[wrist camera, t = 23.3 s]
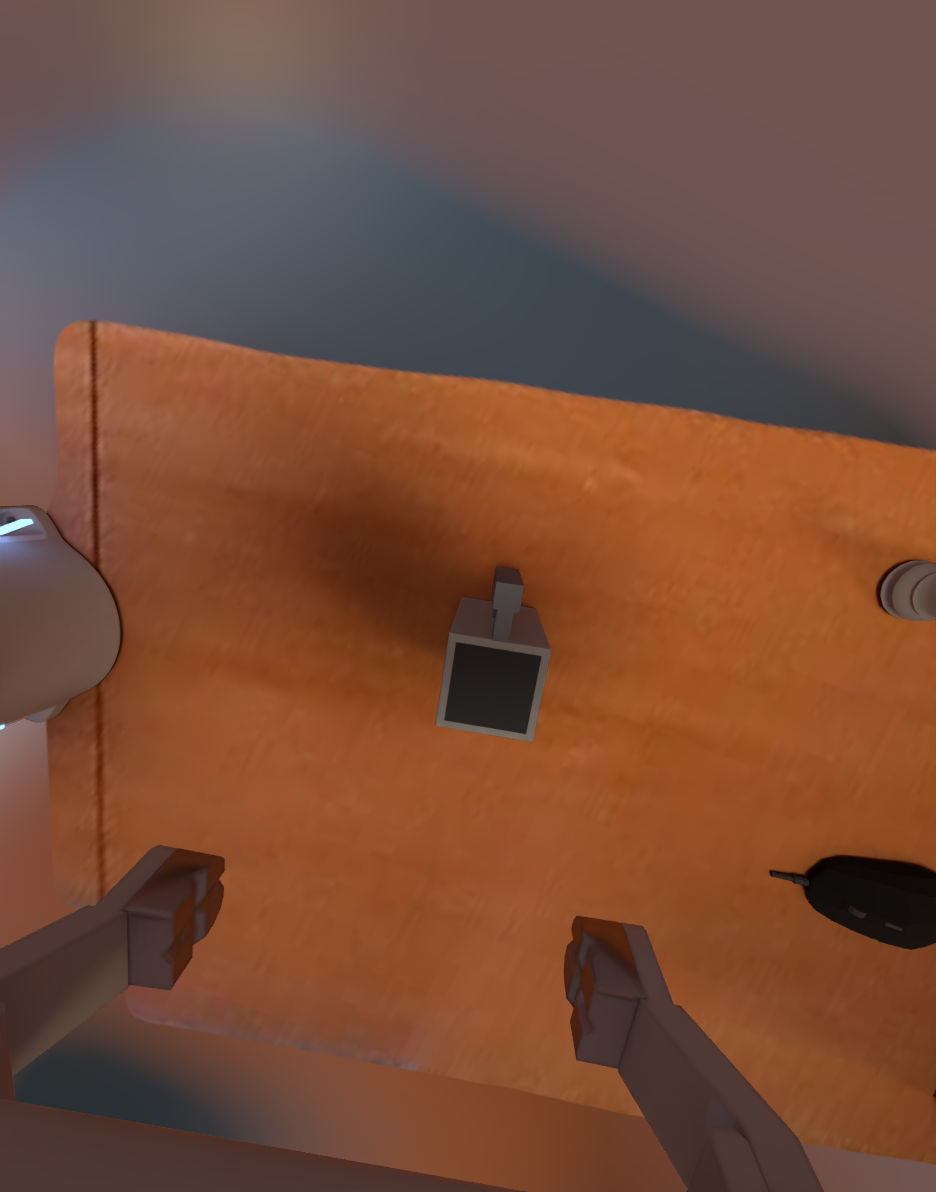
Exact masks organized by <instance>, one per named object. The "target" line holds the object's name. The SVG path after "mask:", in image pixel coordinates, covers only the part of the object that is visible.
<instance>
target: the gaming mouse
mask: <svg viewBox="0 0 936 1192" xmlns="http://www.w3.org/2000/svg"><path fill="white" fill-rule="evenodd" d="M770 875H771V876H772V877H776V878H781V879H785V880H789V881H792V882H793V883H795V884H799V885H802V884H803V885H805V886H807V887H806V890H807V895H808V900H809V903H810V904H811V905H812V907H813V908H814V909H815V910H816V911H818V912H819V913H821V914H822V915H824V916H826V917H827V918H829V919H830V920H832V921H834V922H836V923H838V924H840V925H842V926H844V927H846V928H848V929H850V930H852V931H855V932H857V933H860V934H862V935H864V936H867V937H869V938H871V939H875V940H878V941H879V942H882V943H886V944H890V945H893V946H897V947H901V948H904V949H910V950H912V949H917V948H922V947H926V946H929V945H931V944H934V943H936V874H935V873H933V872H930V871H928V870H925V869H923V868H921V867H915V866H909V865H903V864H893V863H883V862H875V861H867V860H858V859H845V858H839V859H835V860H831V861H828V862H824V863H823V864H822V865H821V866H820V867H818V868H817V869H816V870H815V871H814V872H813V873H812V874H811V876H810V878H809V880H808V879H807V878H803V877H800V876H796V875H791V876H789V875H785V874H781V873H777V872H772V871H771V872H770Z"/></svg>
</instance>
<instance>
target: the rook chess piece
mask: <svg viewBox="0 0 936 1192" xmlns="http://www.w3.org/2000/svg"><path fill="white" fill-rule="evenodd" d="M880 596H881V600H882V604H883V607H884V608H885V609H886V610H887V611H888V612H889V614H891V615H893V616H895V617H897V618H900V619H908V620H910V621H931V620H936V563H930V562H927V561H911V562H908V563H905V564H902V565H900V566H899V567H897V568H896V569H894V570H893V571H892V572H891V573H889V574H888V575H887V577H886V578H885V580H884V581H883V583H882V585H881V590H880Z"/></svg>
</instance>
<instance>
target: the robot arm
mask: <svg viewBox="0 0 936 1192" xmlns="http://www.w3.org/2000/svg"><path fill="white" fill-rule="evenodd" d="M119 645H120V621H119V616H118V611H117V608H116V605H115V602H114V599H113V597H112V595H111V593H110V591H109V589H108V587H107V585H106V583H105V582H104V580H103V579H102V577H101V576H100V575H99V573H98V572H97V571H96V570H95V568H94V567H93V566H92V565H91V564H90V563H89V562H88V561H87V560H86V559H85V558H84V557H83V556H81V555H80V554H79V553H78V552H77V551H75V550H74V549H73V548H72V547H71V546H69V545H68V544H67V543H66V542H65V541H64V539H63V538H62V537H61V535H60V533H59V532H58V530H57V528H56V527H55V525H54V523H53V522H52V520H51V519H50V518H49V516H48V515H47V514H46V513H45V512H44V511H43V510H42V509H41V508H39V507H37V506H33V505H26V506H1V507H0V729H3V728H4V726H6V725H8V724H11V723H14V722H16V721H19V720H22V719H24V718H25V719H27V720H30V721H33V722H43V721H46V720H49V719H51V718H54V717H56V716H57V715H58V714H59V713H60V712H61V711H62V709H63V708H64V707H65V705H66V704H67V703H68V701H69V700H70V699H71V698H73V697H74V696H76V695H78V694H81V693H83V692H85V691H87V690H89V689H91V688H93V687H94V686H95V685H97V684H98V683H99V682H100V681H101V680H103V679H104V677H105V676H106V675H107V674H108V673H109V671H110V670H111V668H112V666H113V664H114V662H115V660H116V657H117V654H118V650H119ZM224 871H225V859H224V858H223V857H221V856H216V855H210V854H205V853H200V852H195V851H190V850H185V849H178V848H173V847H168V846H163V845H158V846H156V847H154V848H152V849H150V850H149V851H148V852H147V853H146V854H145V855H144V856H143V857H142V858H141V860H140V861H139V862H138V863H137V864H136V865H135V866H134V867H133V868H132V869H131V870H130V871H129V872H128V873H127V874H126V875H125V876H124V877H123V878H122V879H121V880H120V881H119V882H118V883H117V884H116V885H115V886H114V887H113V888H112V889H111V890H110V891H109V892H108V893H107V894H106V895H105V896H104V897H103V898H102V899H101V900H100V901H99V902H98V904H97V905H96V906H89V905H88V906H86V907H84V908H82V909H80V910H78V911H76V912H74V913H71V914H70V915H67V916H65V917H63V918H62V919H59V920H57V921H55V922H53V923H51V924H49V925H47V926H46V927H43V928H41V929H39V930H38V931H36V932H33V933H31V934H29V935H27V936H26V937H23V938H21V939H20V940H17V941H15V942H13V943H11V944H9V945H7V946H5V947H3V948H1V949H0V1192H526V1191H520V1190H514V1189H508V1188H503V1187H497V1186H491V1185H486V1184H480V1183H474V1182H468V1181H462V1180H457V1179H452V1178H445V1177H440V1176H435V1175H429V1174H423V1173H418V1172H412V1171H406V1170H401V1169H395V1168H389V1167H384V1166H378V1165H373V1164H367V1163H361V1162H356V1161H349V1160H345V1159H338V1158H333V1157H328V1156H321V1155H316V1154H311V1153H305V1152H299V1151H294V1150H288V1149H282V1148H277V1147H271V1146H265V1145H260V1144H254V1143H249V1142H243V1141H237V1140H232V1139H226V1138H220V1137H214V1136H209V1135H203V1134H197V1133H192V1132H186V1131H181V1130H174V1129H169V1128H164V1127H158V1126H152V1125H146V1124H141V1123H135V1122H130V1121H124V1120H118V1119H113V1118H106V1117H101V1116H95V1115H90V1114H84V1113H78V1112H73V1111H67V1110H61V1109H55V1108H50V1107H44V1106H39V1105H33V1104H28V1103H21V1102H16V1101H15V1095H14V1085H13V1075H14V1074H16V1073H17V1072H18V1071H19V1070H21V1069H22V1068H23V1067H25V1066H26V1065H28V1064H29V1063H30V1062H31V1061H33V1060H34V1059H35V1058H37V1057H38V1056H39V1055H40V1054H42V1053H43V1052H44V1051H46V1050H47V1049H48V1048H50V1047H51V1046H52V1045H54V1044H55V1043H56V1042H58V1041H59V1040H60V1039H61V1038H63V1037H64V1036H66V1035H67V1034H68V1033H69V1032H70V1031H72V1030H73V1029H75V1028H76V1027H77V1026H78V1025H80V1024H81V1023H83V1022H84V1021H85V1020H86V1019H88V1018H89V1017H90V1016H92V1015H93V1014H94V1013H96V1012H97V1011H98V1010H100V1009H101V1008H102V1007H103V1006H105V1005H106V1004H107V1003H109V1002H110V1001H111V1000H113V999H114V998H115V997H117V996H118V995H119V994H121V993H122V992H123V991H125V990H126V989H127V988H128V985H135V986H142V987H150V988H157V989H165V990H171V989H172V987H173V986H174V984H175V983H176V981H177V980H178V978H179V977H180V975H181V974H182V972H183V971H184V969H185V968H186V966H187V965H188V963H189V962H190V960H191V959H192V953H193V945H194V944H195V943H197V942H198V941H200V940H201V939H203V938H204V937H206V935H207V934H208V932H209V931H210V929H211V927H212V926H213V924H214V922H215V920H216V918H217V915H218V913H219V911H220V908H221V905H222V901H223V896H224V886H223V885H222V883H221V882H220V880H219V878H220V877H221V875H222V874H223V872H224ZM571 931H572V936H573V941H571V942H570V943H569V944H568V945H567V948H566V953H565V959H564V984H565V991H566V998H567V999H568V1001H569V1002H570V1004H571V1005H572V1006H573V1012H572V1016H571V1020H570V1024H571V1030H572V1036H573V1042H574V1048H575V1055H576V1060H578V1061H583V1062H588V1063H593V1064H597V1065H602V1066H607V1067H612V1068H617V1069H619V1070H618V1072H619V1074H620V1076H621V1077H622V1079H623V1081H624V1082H625V1084H626V1086H627V1087H628V1089H629V1091H630V1093H631V1094H632V1096H633V1098H634V1099H635V1101H636V1103H637V1104H638V1106H639V1108H640V1109H641V1111H642V1113H643V1115H644V1116H645V1118H646V1120H647V1121H648V1123H649V1125H650V1126H651V1128H652V1130H653V1131H654V1133H655V1135H656V1137H657V1138H658V1140H659V1142H660V1143H661V1145H662V1146H663V1148H664V1150H665V1151H666V1153H667V1155H668V1157H669V1158H670V1160H671V1162H672V1163H673V1165H674V1167H675V1169H676V1170H677V1172H678V1174H679V1175H680V1177H681V1179H682V1180H683V1182H684V1184H685V1185H686V1187H687V1189H688V1190H687V1192H824V1191H823V1188H822V1186H821V1184H820V1182H819V1180H818V1178H817V1176H816V1174H815V1172H814V1170H813V1168H812V1166H811V1164H810V1162H809V1160H808V1157H807V1155H806V1153H805V1151H804V1149H803V1147H802V1145H801V1143H800V1141H799V1139H798V1137H797V1136H796V1135H795V1134H794V1133H793V1132H792V1131H791V1129H790V1128H789V1127H788V1126H787V1125H786V1124H785V1123H784V1122H783V1120H782V1119H781V1118H780V1117H779V1116H778V1115H777V1114H776V1113H775V1111H774V1110H773V1109H772V1108H771V1107H770V1106H769V1105H768V1104H767V1102H766V1101H765V1100H764V1099H763V1098H762V1097H761V1096H760V1095H759V1093H758V1092H757V1091H756V1090H755V1089H754V1088H753V1087H752V1086H751V1084H750V1083H749V1082H748V1081H747V1080H746V1079H745V1078H744V1077H743V1075H742V1074H741V1073H740V1072H739V1071H738V1070H737V1069H736V1068H735V1066H734V1065H733V1064H732V1063H731V1062H730V1061H729V1060H728V1059H727V1057H726V1056H725V1055H724V1054H723V1053H722V1052H721V1051H720V1050H719V1048H718V1047H717V1046H716V1045H715V1044H714V1043H713V1042H712V1041H711V1039H710V1038H709V1037H708V1036H707V1035H706V1034H705V1033H704V1032H703V1031H702V1029H701V1028H700V1027H699V1026H698V1025H697V1024H696V1023H695V1022H694V1020H693V1019H692V1018H691V1017H690V1016H689V1015H688V1014H687V1013H686V1011H685V1010H684V1009H683V1008H682V1007H681V1006H678V1005H674V1004H673V1002H672V999H671V996H670V993H669V991H668V988H667V985H666V983H665V980H664V977H663V975H662V972H661V969H660V967H659V964H658V961H657V959H656V956H655V953H654V951H653V948H652V945H651V942H650V940H649V937H648V934H647V932H646V930H645V929H644V927H643V926H639V925H633V924H627V923H618V922H615V921H608V920H602V919H595V918H589V917H582V916H576V917H575V918H574V920H573V924H572V928H571Z"/></svg>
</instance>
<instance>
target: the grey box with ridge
mask: <svg viewBox="0 0 936 1192" xmlns="http://www.w3.org/2000/svg"><path fill="white" fill-rule="evenodd" d="M523 591H524V584H523V581H522V578H521V575H520V572H519V570H517V569H511V568H505V567H498V566H496V569H495V575H494V581H493V587H492V601H486V600H480V599H474V598H468V597H461V600H460V603H459V606H458V609H457V612H456V614H455V617H454V620H453V623H452V626H451V629H450V632H449V636H448V643H447V649H446V656H445V663H444V669H443V676H442V683H441V690H440V696H439V703H438V710H437V716H436V723H435V724H436V726H441V727H447V728H453V729H458V730H464V731H470V732H476V733H482V734H488V735H494V736H500V737H506V738H512V739H517V740H523V741H529V742H532V741H533V738H534V733H535V729H536V724H537V719H538V714H539V709H540V704H541V699H542V694H543V689H544V684H545V679H546V674H547V670H548V665H549V660H550V655H551V648H550V645H549V642H548V640H547V637H546V634H545V632H544V629H543V626H542V624H541V621H540V618H539V616H538V613H537V611H536V609H535V608H530V607H524V606H521V602H522V596H523Z"/></svg>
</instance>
